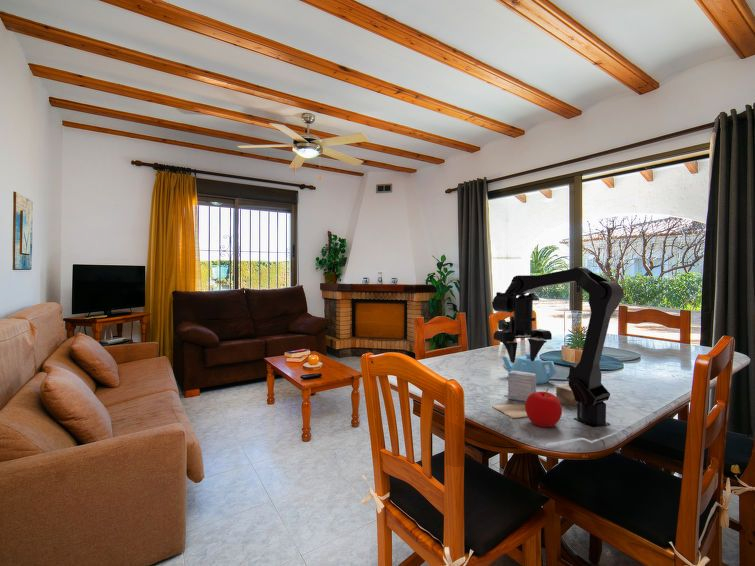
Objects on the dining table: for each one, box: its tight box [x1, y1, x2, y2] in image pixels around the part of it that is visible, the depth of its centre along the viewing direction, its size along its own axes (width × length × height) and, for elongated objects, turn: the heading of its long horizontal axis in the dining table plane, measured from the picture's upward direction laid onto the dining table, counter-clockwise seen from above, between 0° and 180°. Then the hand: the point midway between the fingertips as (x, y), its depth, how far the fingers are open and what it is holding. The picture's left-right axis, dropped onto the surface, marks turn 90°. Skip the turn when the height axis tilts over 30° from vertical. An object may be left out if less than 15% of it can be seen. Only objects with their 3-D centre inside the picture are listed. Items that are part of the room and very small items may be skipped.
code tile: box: [503, 394, 526, 405], centre depth 120 cm, size 11×6×1 cm, turn 18°
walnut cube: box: [555, 384, 578, 408], centre depth 117 cm, size 5×5×5 cm
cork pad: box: [492, 402, 528, 420], centre depth 110 cm, size 10×10×1 cm
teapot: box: [501, 352, 558, 385], centre depth 142 cm, size 15×15×11 cm
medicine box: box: [507, 370, 537, 402], centre depth 120 cm, size 8×4×9 cm, turn 55°
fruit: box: [525, 388, 563, 428], centre depth 100 cm, size 9×9×10 cm
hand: (522, 361), depth 120 cm, fingers open, 7 cm apart
